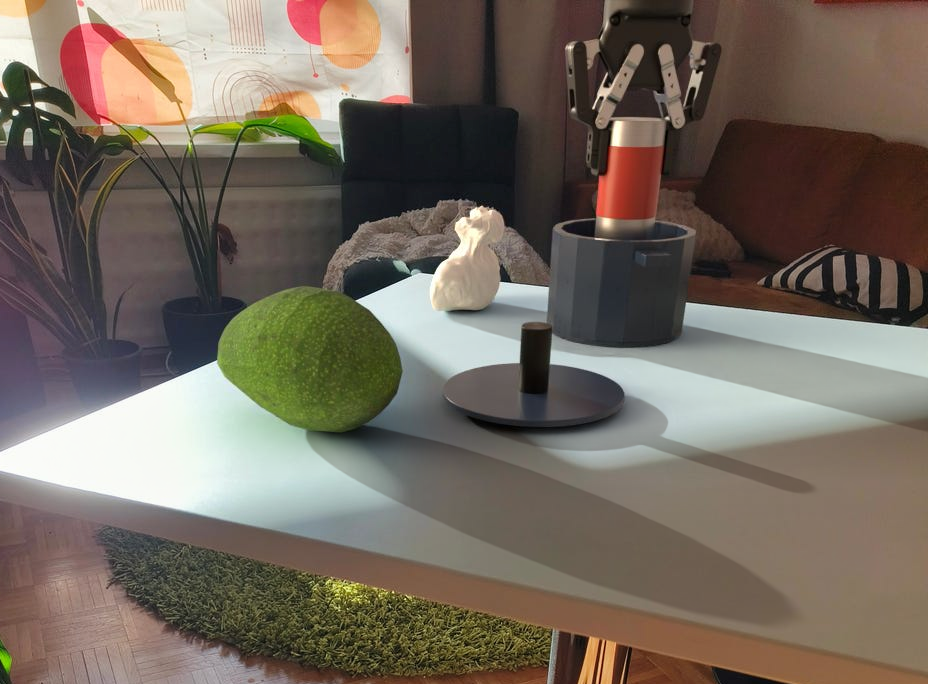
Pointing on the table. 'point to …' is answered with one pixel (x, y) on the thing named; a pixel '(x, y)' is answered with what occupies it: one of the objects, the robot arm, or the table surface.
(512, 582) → the table surface
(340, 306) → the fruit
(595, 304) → the pot
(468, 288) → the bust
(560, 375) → the lid
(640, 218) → the can
